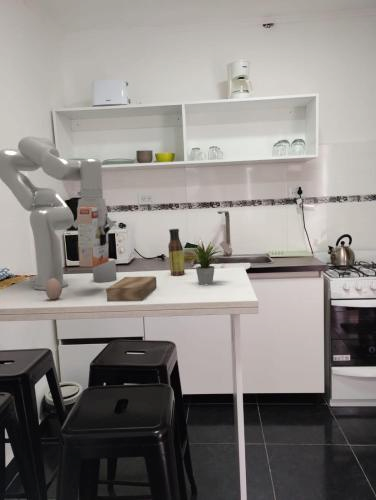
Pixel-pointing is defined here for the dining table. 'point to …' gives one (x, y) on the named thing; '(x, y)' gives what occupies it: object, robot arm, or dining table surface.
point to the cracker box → (90, 238)
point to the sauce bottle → (176, 253)
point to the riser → (131, 289)
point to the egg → (53, 289)
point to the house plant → (205, 264)
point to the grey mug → (105, 272)
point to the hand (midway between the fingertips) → (94, 244)
